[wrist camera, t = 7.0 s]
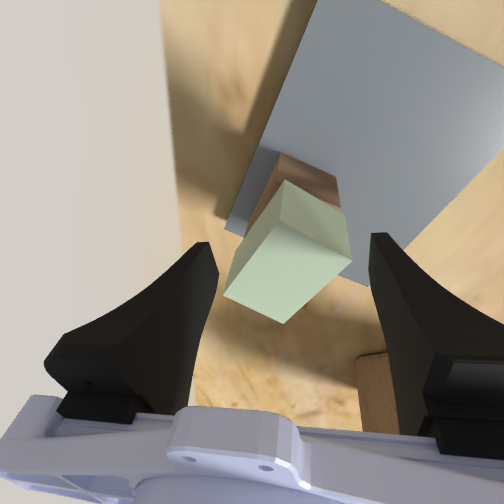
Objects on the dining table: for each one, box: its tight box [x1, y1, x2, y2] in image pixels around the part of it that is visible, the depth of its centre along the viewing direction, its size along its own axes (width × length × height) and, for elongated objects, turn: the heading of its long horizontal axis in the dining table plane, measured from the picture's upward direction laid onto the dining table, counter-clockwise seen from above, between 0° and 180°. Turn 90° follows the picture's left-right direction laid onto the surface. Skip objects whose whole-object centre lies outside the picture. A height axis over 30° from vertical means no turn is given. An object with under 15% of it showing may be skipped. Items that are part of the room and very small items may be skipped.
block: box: [355, 352, 400, 435], centre depth 27 cm, size 10×10×20 cm
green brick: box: [223, 180, 352, 324], centre depth 17 cm, size 4×6×4 cm, turn 151°
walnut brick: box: [244, 152, 341, 238], centre depth 20 cm, size 4×6×4 cm, turn 159°
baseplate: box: [224, 0, 504, 287], centre depth 20 cm, size 13×16×1 cm
